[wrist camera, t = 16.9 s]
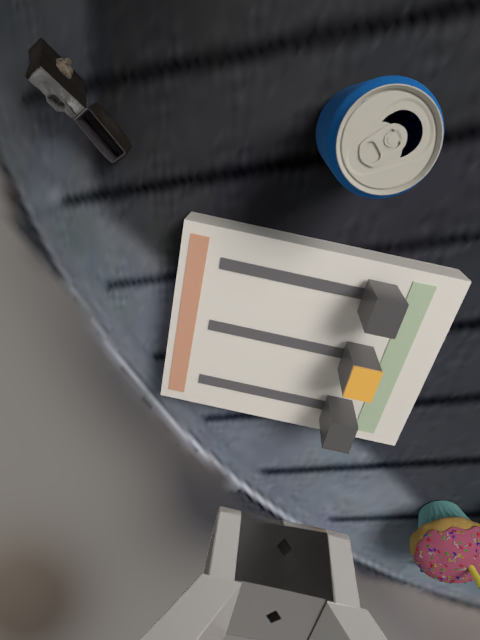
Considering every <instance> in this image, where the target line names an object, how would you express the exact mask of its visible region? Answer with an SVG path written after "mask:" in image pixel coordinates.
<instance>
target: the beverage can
mask: <svg viewBox="0 0 480 640" xmlns="http://www.w3.org/2000/svg"><path fill="white" fill-rule="evenodd" d="M443 138H444V120H443V115H442V111H441V108H440V106H439V104H438V102H437V100H436V98H435V97H434V96H433V94H432V93H431V92H430V91H429V90H428V89H427V88H426V87H425V86H424V85H422V84H421V83H419V82H417V81H415V80H413V79H411V78H407V77H404V76H397V75H396V76H382V77H378V78H375V79H371V80H368V81H365V82H361V83H358V84H355V85H352V86H348V87H346V88H344V89H342V90H341V91H339V92H337V93H336V94H335V95H334V96H333V97H332V98H331V99H330V100H329V101H328V102H327V103H326V105H325V106H324V108H323V109H322V111H321V113H320V116H319V118H318V122H317V126H316V143H317V147H318V150H319V153H320V155H321V157H322V158H323V160H324V161H325V163H326V164H327V166H328V167H329V169H330V170H331V171H332V173H333V174H334V176H335V177H336V179H337V180H338V181H339V182H340V183H341V185H343V186H344V187H345V188H346V189H347V190H349V191H351V192H352V193H354V194H356V195H359V196H362V197H365V198H372V199H382V198H389V197H393V196H396V195H399V194H402V193H404V192H406V191H408V190H409V189H411V188H412V187H414V186H415V185H417V184H418V183H419V182H420V181H421V180H422V179H423V178H424V177H425V176H426V175H427V174H428V173H429V171H430V170H431V169H432V167H433V165H434V164H435V162H436V160H437V158H438V156H439V154H440V151H441V148H442V144H443Z"/></svg>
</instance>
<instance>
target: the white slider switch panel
mask: <svg viewBox="0 0 480 640" xmlns="http://www.w3.org/2000/svg"><path fill="white" fill-rule="evenodd" d="M368 279H371V280H375V281H380V282H385V283H389V284H394V285H397V286H398V288H399V289H400V291H401V293H402V294H403V296H404V298H405V299H406V301H407V302H408V304H409V306H408V309H407V311H406V314H405V316H404V319H403V321H402V323H401V326H400V328H399V331H398V333H397V336H396V338H395V339H390V338H386V337H381V336H376V335H372V334H367V333H364V330H363V327H362V324H361V321H360V318H359V315H358V312H357V310H358V307H359V304H360V301H361V298H362V296H363V293H364V290H365V287H366V284H367V281H368ZM470 284H471V281H470V280H469V279H468V278H467V277H466V276H465V275H464V274H463V273H462V272H461V271H460V270H459V269H455V268H450V267H445V266H441V265H436V264H432V263H427V262H422V261H418V260H413V259H408V258H404V257H399V256H395V255H390V254H385V253H381V252H376V251H372V250H367V249H362V248H358V247H353V246H349V245H344V244H339V243H335V242H330V241H326V240H321V239H316V238H312V237H307V236H303V235H298V234H293V233H289V232H284V231H279V230H275V229H270V228H266V227H261V226H256V225H252V224H247V223H243V222H238V221H233V220H229V219H224V218H220V217H215V216H210V215H206V214H201V213H197V212H192V211H191V212H190V213H189V215H188V216H187V217H186V218H185V219H184V225H183V232H182V239H181V247H180V254H179V262H178V269H177V276H176V284H175V291H174V299H173V306H172V313H171V321H170V328H169V335H168V343H167V350H166V358H165V365H164V372H163V380H162V387H161V394H160V395H163V396H168V397H172V398H177V399H181V400H186V401H191V402H195V403H200V404H205V405H209V406H214V407H218V408H223V409H228V410H232V411H237V412H242V413H246V414H251V415H255V416H260V417H265V418H269V419H274V420H278V421H283V422H288V423H292V424H297V425H302V426H306V427H311V428H315V429H320V424H319V418H320V415H321V412H322V409H323V407H324V404H325V401H326V398H327V395H330V396H335V397H339V398H344V399H349V398H345V397H343V396H342V391H341V386H340V380H339V375H338V370H337V368H338V366H339V363H340V360H341V357H342V354H343V351H344V349H345V346H346V343H347V341H349V342H353V343H358V344H363V345H367V346H372V347H374V349H375V352H376V355H377V358H378V360H379V363H380V366H381V369H382V371H383V375H382V378H381V380H380V383H379V385H378V388H377V390H376V392H375V395H374V397H373V400H372V402H371V403H368V402H363V401H359V400H354V399H349V400H352V401H353V406H354V410H355V414H356V419H357V423H358V431H357V433H356V436H355V437H357V438H362V439H366V440H371V441H375V442H380V443H385V444H389V445H394V446H395V444H396V442H397V440H398V437H399V435H400V433H401V431H402V429H403V427H404V425H405V423H406V420H407V418H408V416H409V414H410V412H411V410H412V408H413V405H414V403H415V401H416V399H417V397H418V395H419V393H420V391H421V388H422V386H423V384H424V382H425V380H426V378H427V376H428V374H429V371H430V369H431V367H432V365H433V363H434V361H435V359H436V356H437V354H438V352H439V350H440V348H441V346H442V344H443V342H444V339H445V337H446V335H447V333H448V331H449V329H450V327H451V324H452V322H453V320H454V318H455V316H456V314H457V312H458V310H459V307H460V305H461V303H462V301H463V299H464V297H465V295H466V293H467V290H468V288H469V286H470Z"/></svg>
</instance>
